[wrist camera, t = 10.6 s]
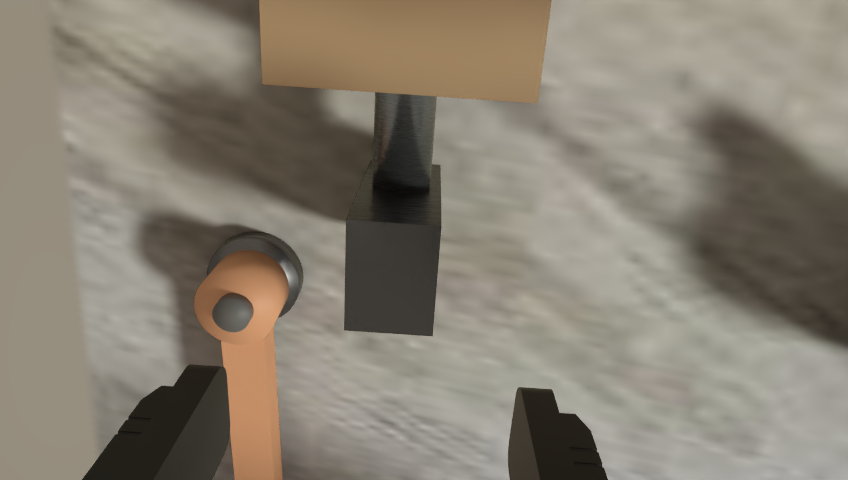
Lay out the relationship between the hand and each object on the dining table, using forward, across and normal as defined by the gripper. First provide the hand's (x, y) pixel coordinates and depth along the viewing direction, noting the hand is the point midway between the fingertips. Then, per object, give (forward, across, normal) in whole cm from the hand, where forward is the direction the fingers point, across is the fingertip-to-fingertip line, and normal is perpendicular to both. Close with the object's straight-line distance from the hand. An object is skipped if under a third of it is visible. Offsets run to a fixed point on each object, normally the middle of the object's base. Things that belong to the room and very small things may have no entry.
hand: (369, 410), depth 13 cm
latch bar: (+14, +7, +10) cm, 19 cm away
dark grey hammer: (+14, 0, -6) cm, 16 cm away
